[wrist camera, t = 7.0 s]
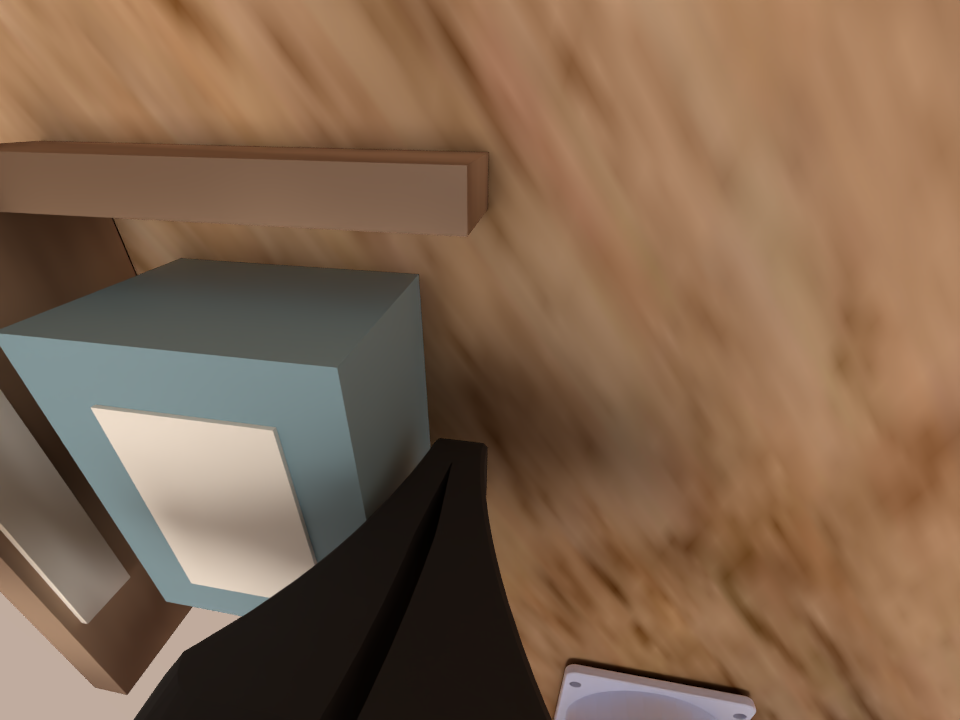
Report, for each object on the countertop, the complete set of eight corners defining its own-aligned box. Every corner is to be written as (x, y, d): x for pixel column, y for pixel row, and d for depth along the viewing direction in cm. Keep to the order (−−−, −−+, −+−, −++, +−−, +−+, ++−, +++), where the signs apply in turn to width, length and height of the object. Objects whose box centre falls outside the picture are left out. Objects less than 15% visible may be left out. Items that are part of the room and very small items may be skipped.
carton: (436, 502, 16) (389, 648, 12) (265, 477, 17) (163, 605, 13) (421, 270, 11) (334, 370, 7) (188, 255, 12) (-15, 335, 8)
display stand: (481, 573, 17) (447, 768, 12) (221, 530, 19) (94, 687, 14) (488, 152, 9) (399, 206, 4) (39, 140, 11) (-417, 170, 6)
